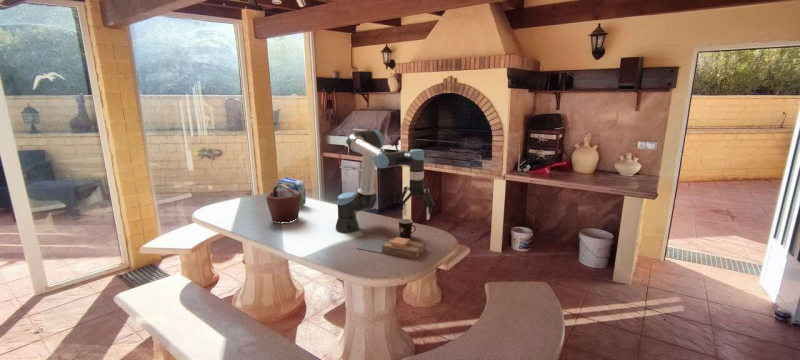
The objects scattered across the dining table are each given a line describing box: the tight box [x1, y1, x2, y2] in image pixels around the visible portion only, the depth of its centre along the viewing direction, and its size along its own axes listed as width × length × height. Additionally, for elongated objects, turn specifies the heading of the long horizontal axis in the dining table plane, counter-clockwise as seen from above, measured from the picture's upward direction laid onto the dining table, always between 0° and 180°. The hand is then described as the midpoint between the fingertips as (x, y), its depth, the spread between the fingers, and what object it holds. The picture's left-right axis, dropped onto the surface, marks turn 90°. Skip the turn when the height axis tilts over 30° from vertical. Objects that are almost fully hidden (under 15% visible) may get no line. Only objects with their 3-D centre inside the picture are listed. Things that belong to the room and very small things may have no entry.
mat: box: [355, 238, 388, 254], centre depth 222 cm, size 16×16×1 cm
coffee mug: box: [398, 218, 417, 239], centre depth 234 cm, size 12×9×10 cm
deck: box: [381, 237, 426, 260], centre depth 214 cm, size 14×20×4 cm
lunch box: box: [276, 177, 307, 207], centre depth 301 cm, size 26×11×21 cm, turn 51°
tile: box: [391, 236, 411, 248], centre depth 214 cm, size 8×8×2 cm
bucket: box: [266, 184, 301, 224], centre depth 264 cm, size 24×22×25 cm
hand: (416, 217), depth 206 cm, fingers open, 13 cm apart
